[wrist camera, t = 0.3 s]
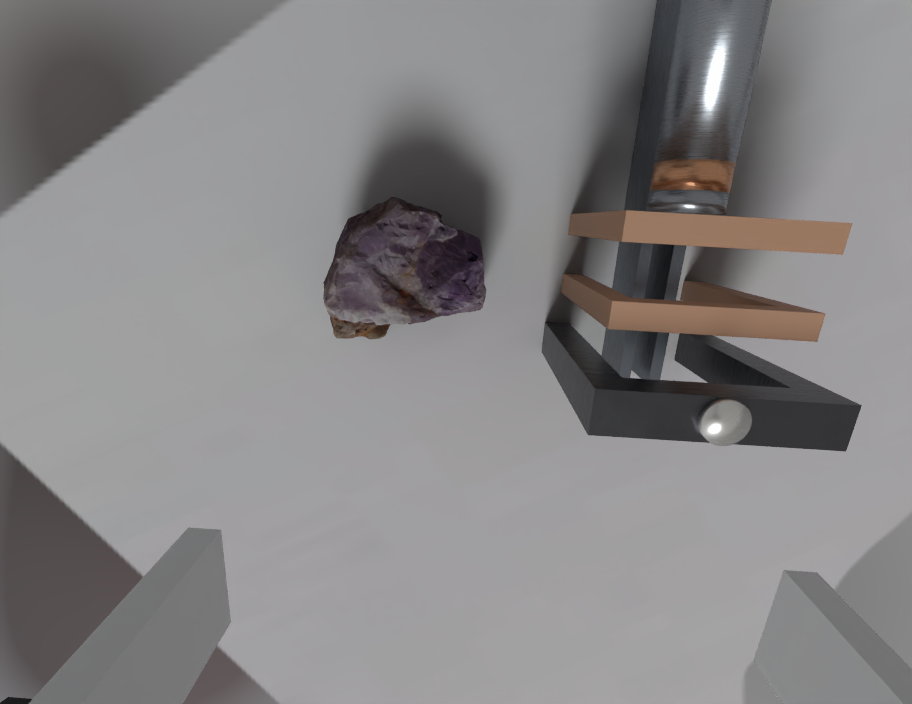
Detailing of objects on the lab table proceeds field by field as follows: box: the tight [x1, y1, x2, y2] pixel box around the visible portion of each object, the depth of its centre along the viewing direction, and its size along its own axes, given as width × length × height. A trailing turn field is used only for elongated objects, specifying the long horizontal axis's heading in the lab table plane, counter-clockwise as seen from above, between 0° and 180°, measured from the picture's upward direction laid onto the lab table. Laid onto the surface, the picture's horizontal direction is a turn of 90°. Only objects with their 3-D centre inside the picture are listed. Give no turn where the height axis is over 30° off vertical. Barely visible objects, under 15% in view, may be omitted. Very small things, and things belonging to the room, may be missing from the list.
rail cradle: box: [602, 0, 686, 380], centre depth 30 cm, size 32×3×4 cm, turn 177°
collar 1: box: [568, 210, 852, 255], centre depth 28 cm, size 2×11×12 cm, turn 87°
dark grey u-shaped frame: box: [542, 322, 862, 451], centre depth 29 cm, size 2×13×15 cm, turn 87°
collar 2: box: [561, 274, 825, 342], centre depth 29 cm, size 2×11×12 cm, turn 87°
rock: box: [323, 197, 486, 339], centre depth 32 cm, size 12×9×10 cm
